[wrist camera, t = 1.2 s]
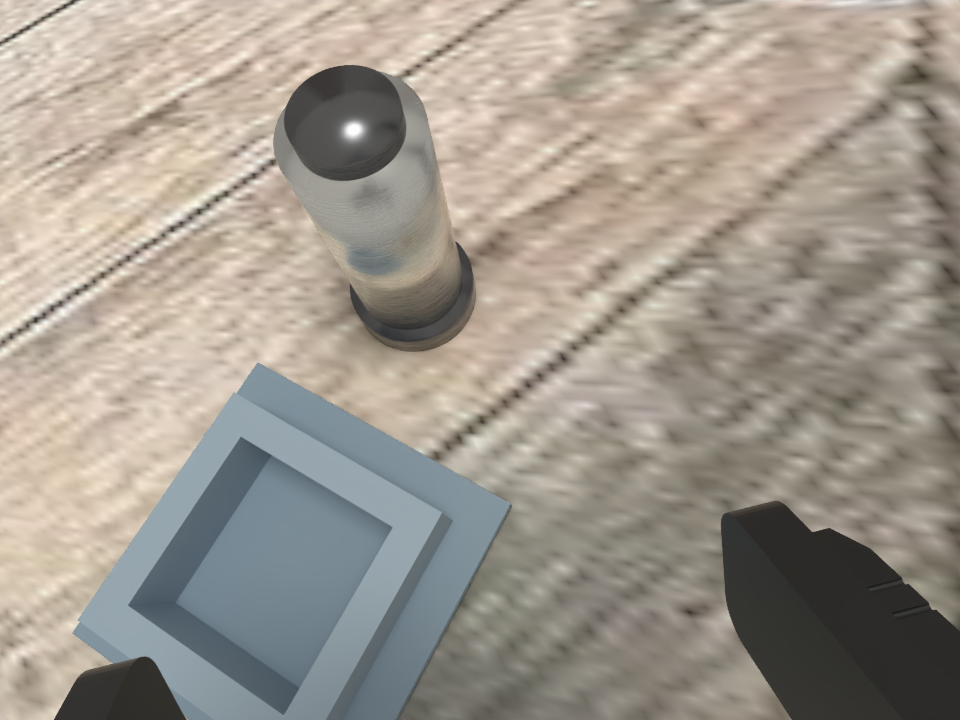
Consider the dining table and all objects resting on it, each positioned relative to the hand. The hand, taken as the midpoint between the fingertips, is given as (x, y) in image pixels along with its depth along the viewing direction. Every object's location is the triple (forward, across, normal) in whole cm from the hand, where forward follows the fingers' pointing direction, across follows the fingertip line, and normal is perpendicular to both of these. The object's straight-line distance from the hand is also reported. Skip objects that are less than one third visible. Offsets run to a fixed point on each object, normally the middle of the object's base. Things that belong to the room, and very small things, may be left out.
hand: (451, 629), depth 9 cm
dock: (+14, +7, +9) cm, 18 cm away
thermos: (+21, 0, +1) cm, 21 cm away
